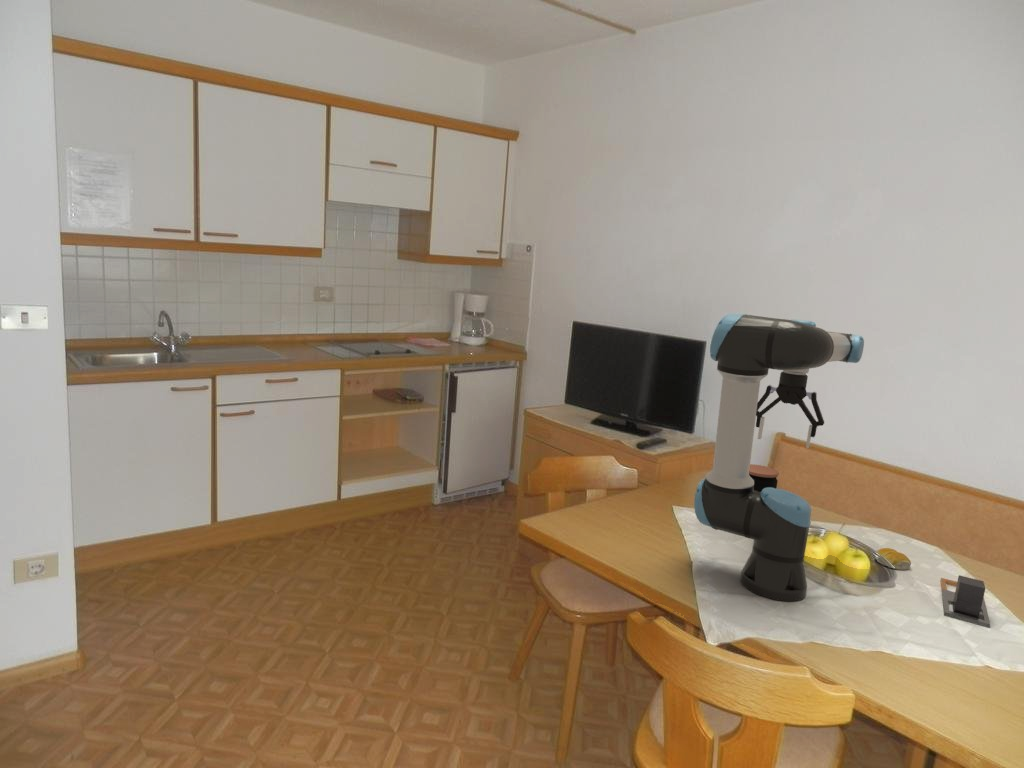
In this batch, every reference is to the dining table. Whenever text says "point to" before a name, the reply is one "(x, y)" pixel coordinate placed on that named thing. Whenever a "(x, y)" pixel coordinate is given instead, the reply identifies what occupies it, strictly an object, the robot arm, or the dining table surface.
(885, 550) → the bread roll
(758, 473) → the coffee jar
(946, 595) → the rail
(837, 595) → the dining table surface
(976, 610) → the block
